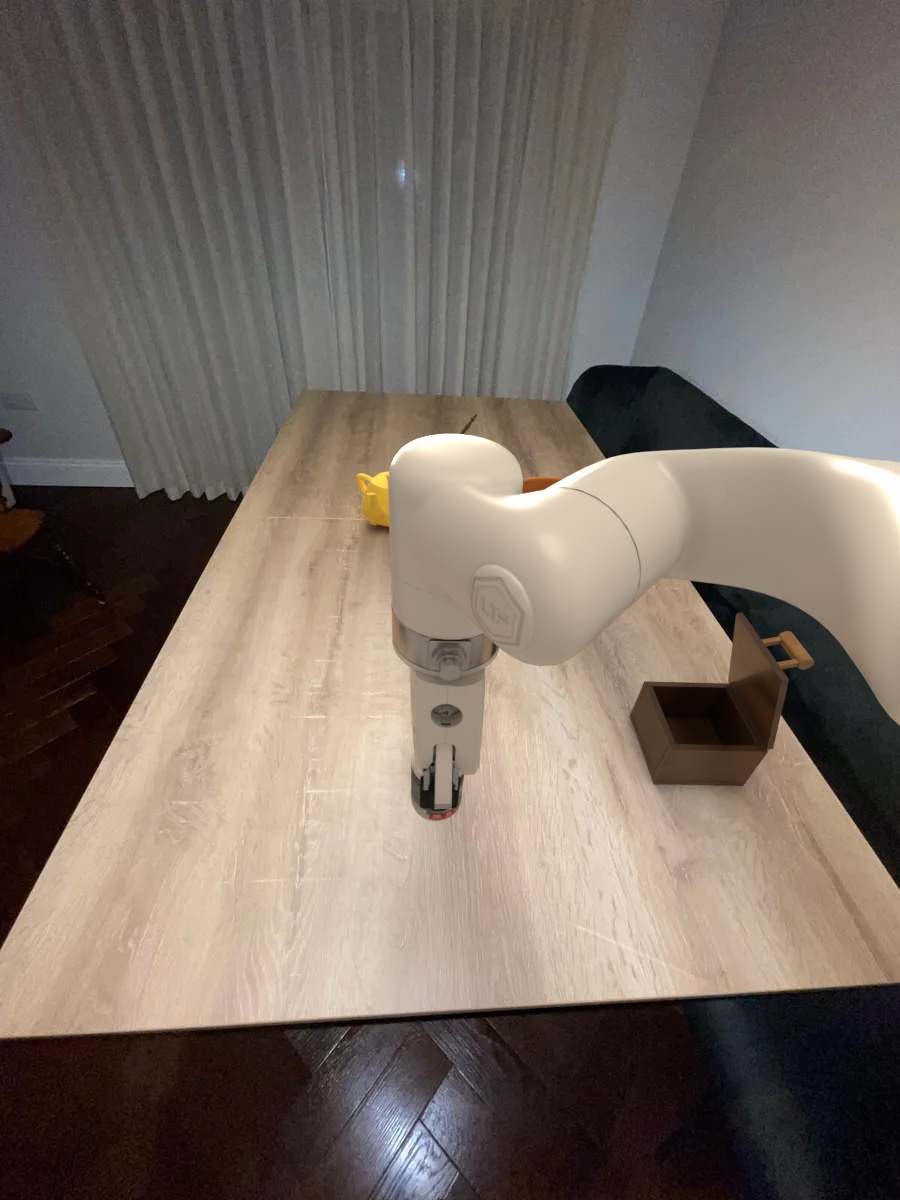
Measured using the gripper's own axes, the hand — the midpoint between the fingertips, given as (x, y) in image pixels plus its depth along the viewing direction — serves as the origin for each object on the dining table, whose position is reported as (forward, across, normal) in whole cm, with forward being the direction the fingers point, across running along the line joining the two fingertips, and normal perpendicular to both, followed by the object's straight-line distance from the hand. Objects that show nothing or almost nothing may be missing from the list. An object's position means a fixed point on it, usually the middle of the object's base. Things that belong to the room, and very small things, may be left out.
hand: (438, 775), depth 47 cm
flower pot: (+22, +66, -24) cm, 74 cm away
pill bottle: (+4, 0, 0) cm, 4 cm away
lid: (+7, +19, -41) cm, 46 cm away
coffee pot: (+21, +104, -7) cm, 107 cm away
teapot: (+21, +80, +10) cm, 83 cm away
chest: (+22, +19, -37) cm, 47 cm away
